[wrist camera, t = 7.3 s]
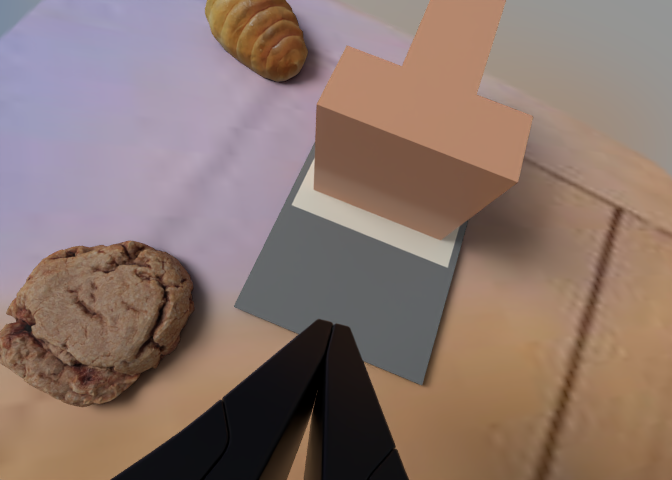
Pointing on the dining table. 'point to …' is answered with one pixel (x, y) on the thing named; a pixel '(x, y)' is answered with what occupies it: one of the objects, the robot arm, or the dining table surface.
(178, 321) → the cookie
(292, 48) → the pastry
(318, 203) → the board
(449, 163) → the tee
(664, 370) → the dining table surface
